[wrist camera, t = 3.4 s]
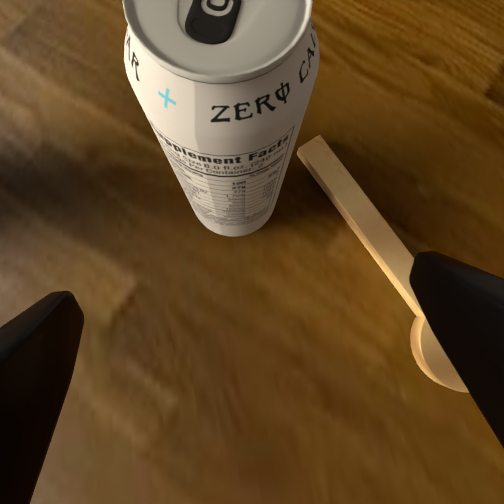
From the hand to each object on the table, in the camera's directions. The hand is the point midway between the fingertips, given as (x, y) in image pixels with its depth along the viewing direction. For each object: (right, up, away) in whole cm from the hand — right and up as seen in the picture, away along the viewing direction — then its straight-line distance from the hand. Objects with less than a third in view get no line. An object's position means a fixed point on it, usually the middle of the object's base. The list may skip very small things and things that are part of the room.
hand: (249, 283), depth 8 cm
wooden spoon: (+10, 0, +14) cm, 17 cm away
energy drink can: (-1, +5, +15) cm, 15 cm away
